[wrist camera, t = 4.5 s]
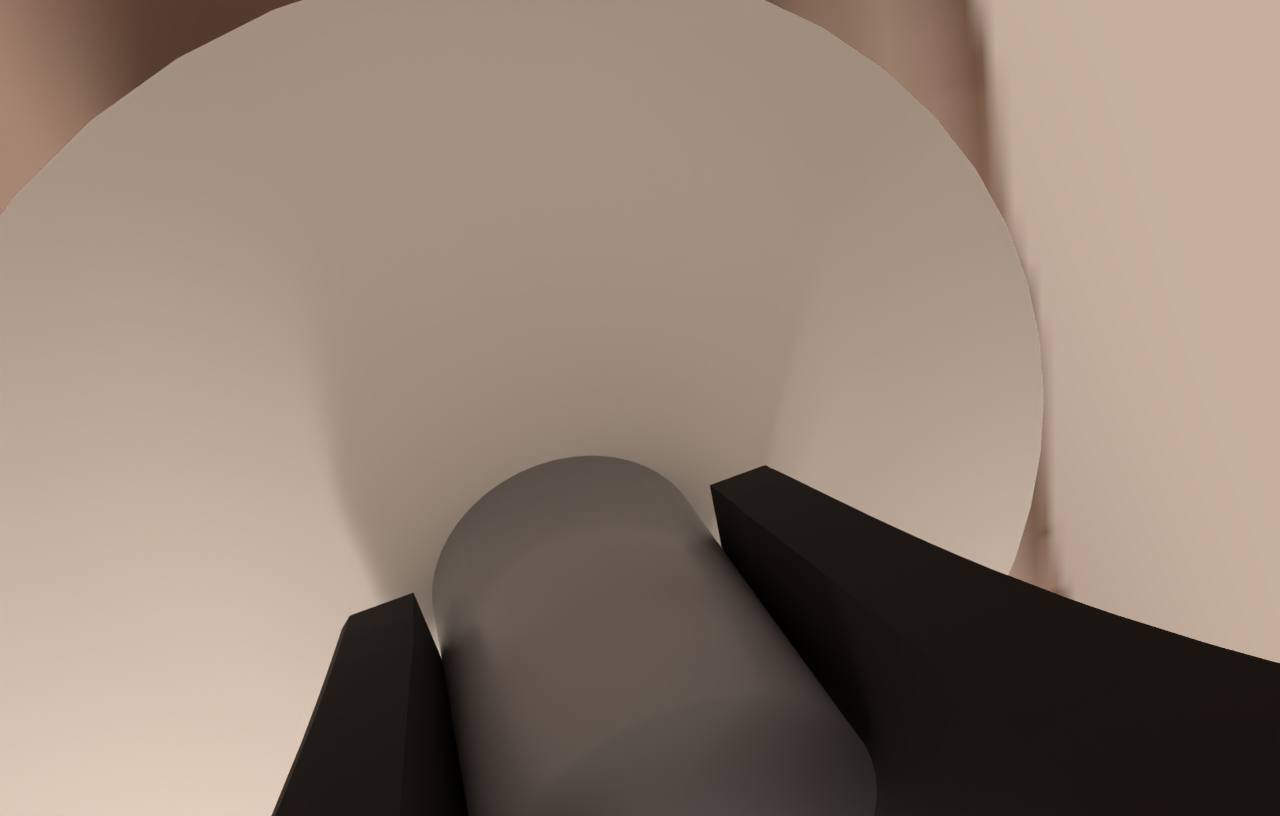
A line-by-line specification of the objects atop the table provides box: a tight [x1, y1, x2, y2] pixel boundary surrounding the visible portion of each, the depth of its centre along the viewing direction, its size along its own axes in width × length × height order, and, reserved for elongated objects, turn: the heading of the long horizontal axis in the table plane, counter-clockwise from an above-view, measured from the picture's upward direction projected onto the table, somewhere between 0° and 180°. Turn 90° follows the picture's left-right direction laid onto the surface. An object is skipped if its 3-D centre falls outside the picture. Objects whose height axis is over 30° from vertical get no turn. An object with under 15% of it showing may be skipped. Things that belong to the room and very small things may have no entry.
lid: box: [0, 0, 1044, 816], centre depth 8 cm, size 12×12×4 cm
